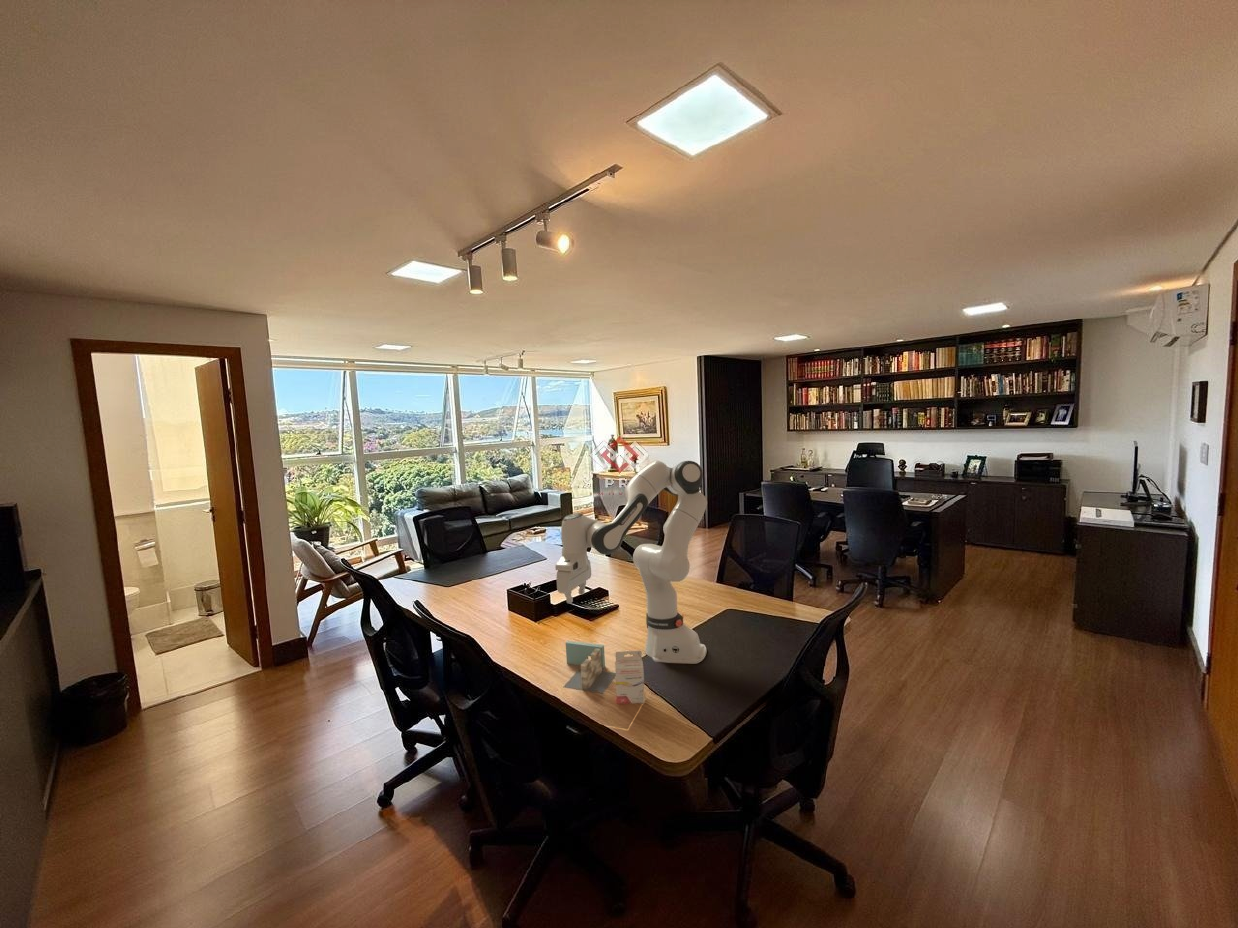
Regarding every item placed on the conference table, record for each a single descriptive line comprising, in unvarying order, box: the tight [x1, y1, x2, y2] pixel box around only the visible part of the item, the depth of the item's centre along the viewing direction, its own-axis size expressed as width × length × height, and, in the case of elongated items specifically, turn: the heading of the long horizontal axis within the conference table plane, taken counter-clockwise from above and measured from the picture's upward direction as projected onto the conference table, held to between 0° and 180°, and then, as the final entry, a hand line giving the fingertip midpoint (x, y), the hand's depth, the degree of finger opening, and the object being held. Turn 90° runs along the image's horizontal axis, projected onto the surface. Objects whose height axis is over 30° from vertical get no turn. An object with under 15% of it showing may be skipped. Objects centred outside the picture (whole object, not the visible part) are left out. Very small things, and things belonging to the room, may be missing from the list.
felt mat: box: [563, 667, 616, 695], centre depth 164 cm, size 14×13×1 cm
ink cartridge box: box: [614, 650, 646, 705], centre depth 151 cm, size 9×5×15 cm, turn 92°
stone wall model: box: [580, 649, 603, 691], centre depth 163 cm, size 12×2×8 cm, turn 159°
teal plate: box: [565, 640, 606, 670], centre depth 174 cm, size 14×2×8 cm, turn 69°
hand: (575, 598), depth 176 cm, fingers open, 8 cm apart
